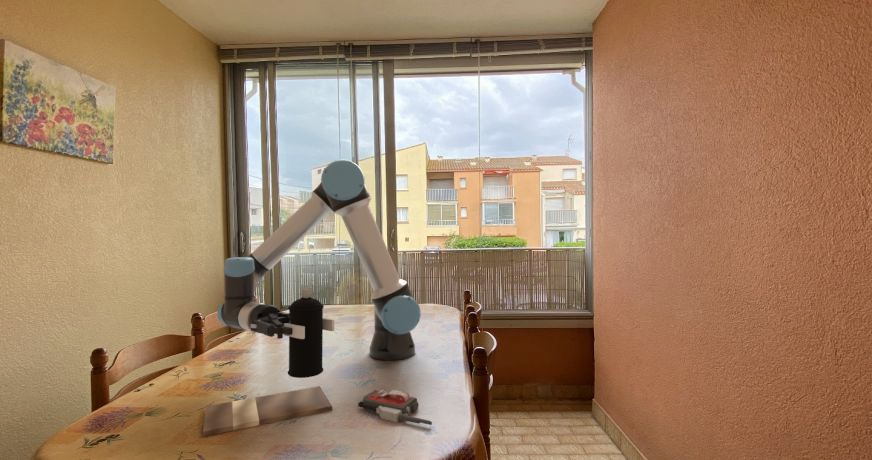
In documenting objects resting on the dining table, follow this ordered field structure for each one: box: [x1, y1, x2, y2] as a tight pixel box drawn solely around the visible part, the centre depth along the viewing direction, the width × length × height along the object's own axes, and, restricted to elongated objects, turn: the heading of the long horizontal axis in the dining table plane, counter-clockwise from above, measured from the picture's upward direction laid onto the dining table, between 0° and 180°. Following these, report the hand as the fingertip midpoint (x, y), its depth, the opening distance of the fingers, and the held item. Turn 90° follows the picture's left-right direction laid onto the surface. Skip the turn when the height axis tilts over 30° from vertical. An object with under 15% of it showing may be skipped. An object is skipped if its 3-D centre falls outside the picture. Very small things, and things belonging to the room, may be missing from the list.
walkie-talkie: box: [357, 389, 433, 426], centre depth 95 cm, size 9×4×20 cm
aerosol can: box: [287, 288, 325, 379], centre depth 101 cm, size 8×8×20 cm
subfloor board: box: [202, 385, 333, 437], centre depth 97 cm, size 26×14×1 cm, turn 117°
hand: (318, 329), depth 98 cm, fingers closed on aerosol can, 8 cm apart
